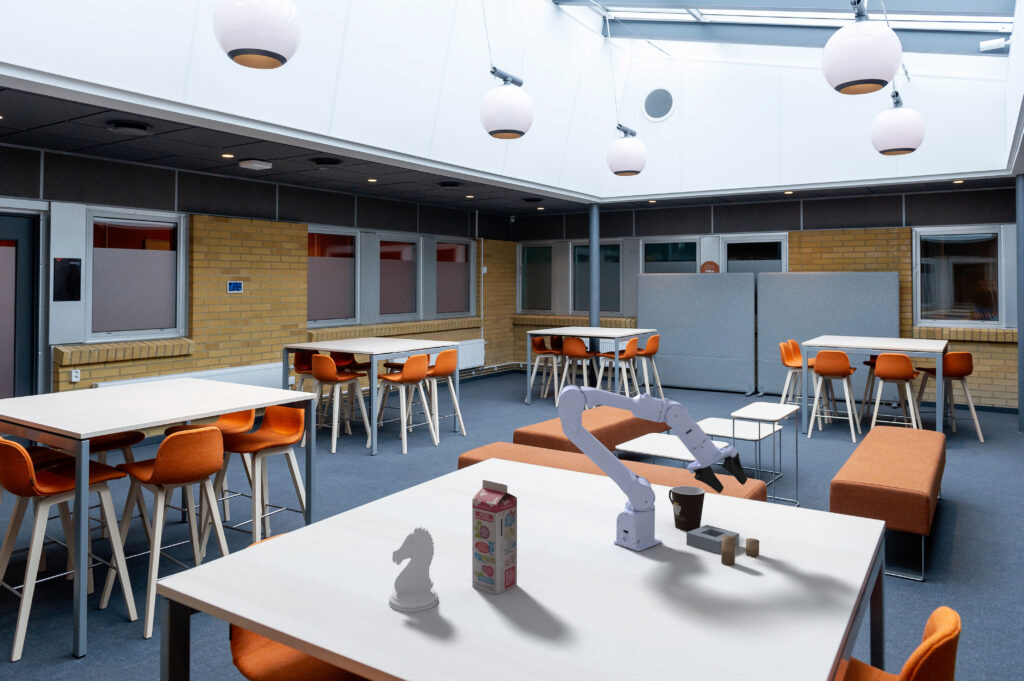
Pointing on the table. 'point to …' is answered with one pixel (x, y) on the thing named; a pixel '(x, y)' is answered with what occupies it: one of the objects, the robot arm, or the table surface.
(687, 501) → the coffee mug
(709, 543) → the hole block
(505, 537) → the juice carton
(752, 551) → the short dowel
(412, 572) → the chess piece
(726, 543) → the long dowel
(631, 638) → the table surface
